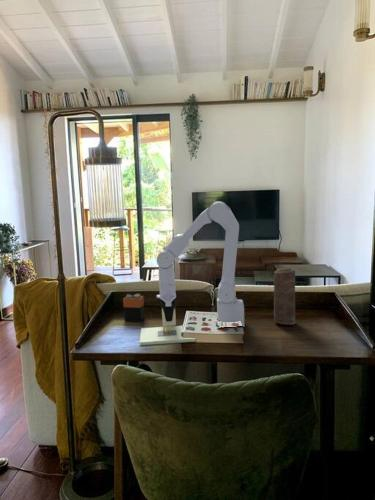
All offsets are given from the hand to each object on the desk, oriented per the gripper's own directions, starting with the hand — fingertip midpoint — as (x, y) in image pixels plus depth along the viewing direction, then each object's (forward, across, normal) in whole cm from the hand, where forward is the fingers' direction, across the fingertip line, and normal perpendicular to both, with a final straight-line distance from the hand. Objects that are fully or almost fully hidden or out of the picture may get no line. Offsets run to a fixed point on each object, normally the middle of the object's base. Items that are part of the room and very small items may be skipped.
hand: (168, 319), depth 142 cm
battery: (+2, -7, -13) cm, 15 cm away
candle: (+2, +7, +41) cm, 42 cm away
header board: (+2, +11, -1) cm, 11 cm away
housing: (+2, 0, 0) cm, 2 cm away
